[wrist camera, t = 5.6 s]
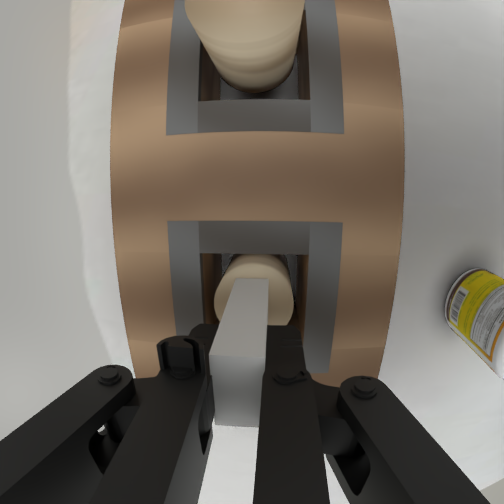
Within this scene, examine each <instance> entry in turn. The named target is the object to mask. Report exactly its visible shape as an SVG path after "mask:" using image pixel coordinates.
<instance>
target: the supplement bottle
mask: <svg viewBox="0 0 504 504" xmlns="http://www.w3.org/2000/svg"><path fill="white" fill-rule="evenodd" d="M445 317H446V321H447V323H448V325H449V326H450V328H451V329H452V330H453V331H454V332H455V333H456V334H457V335H458V336H459V337H460V338H461V339H462V340H463V341H464V342H465V343H466V344H467V345H468V346H469V347H470V348H471V349H472V350H473V351H474V352H475V353H476V354H477V355H478V356H479V357H480V358H481V359H482V360H483V361H484V362H485V363H486V364H487V365H488V366H489V367H490V368H491V369H492V370H493V371H494V372H495V373H496V374H497V375H498V376H499V377H500V378H502V379H504V279H502V278H500V277H499V276H497V275H495V274H493V273H491V272H489V271H487V270H484V269H480V268H476V269H471V270H469V271H467V272H465V273H464V274H462V275H461V276H460V277H459V278H458V279H457V280H456V281H455V283H454V284H453V285H452V287H451V289H450V291H449V293H448V296H447V299H446V303H445Z"/></svg>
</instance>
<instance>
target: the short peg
mask: <svg viewBox="0 0 504 504" xmlns="http://www.w3.org/2000/svg"><path fill="white" fill-rule="evenodd" d="M236 278H256V279H269V285H268V325H287V324H288V322H289V320H290V318H291V316H292V313H293V308H294V301H293V294H292V288H291V282H290V276H289V270H288V264H287V260H286V258H285V255H284V254H234V256H233V258H232V260H231V262H230V264H229V266H228V268H227V270H226V272H225V274H224V276H223V278H222V280H221V282H220V284H219V286H218V288H217V290H216V293H215V297H214V308H215V312H216V315H217V317H218V319H219V321H221V319H222V316H223V313H224V310H225V307H226V305H227V302H228V299H229V296H230V293H231V291H232V288H233V285H234V282H235V279H236Z"/></svg>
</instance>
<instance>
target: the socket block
mask: <svg viewBox="0 0 504 504" xmlns="http://www.w3.org/2000/svg"><path fill="white" fill-rule="evenodd" d="M295 54H297V63H298V95H299V100H298V99H236V100H220V82H221V76H220V74H219V72H218V71H217V69H216V67H215V65H214V63H213V61H212V60H211V58H210V56H209V54H208V52H207V50H206V49H205V47H204V45H203V43H202V42H201V40H200V38H199V36H198V34H197V33H196V31H195V29H194V27H193V26H192V24H191V22H190V20H189V19H188V17H187V14H186V11H185V0H125V3H124V8H123V13H122V19H121V25H120V31H119V38H118V45H117V53H116V62H115V71H114V82H113V95H112V111H111V138H110V177H111V205H112V222H113V235H114V247H115V257H116V266H117V275H118V282H119V290H120V297H121V304H122V310H123V316H124V322H125V328H126V333H127V339H128V344H129V349H130V354H131V359H132V363H133V368H134V372H135V376H136V378H149V377H155V376H157V375H158V373H159V371H160V365H159V359H158V353H157V347H156V345H157V344H158V343H159V342H160V341H161V340H163V339H165V338H168V337H172V336H182V335H186V336H188V335H189V333H190V332H191V330H192V329H193V328H194V327H196V326H197V325H199V324H200V323H201V324H220V321H219V319H218V317H217V315H216V312H215V308H214V297H215V293H216V290H217V288H218V286H219V284H220V282H221V280H222V265H221V253H223V254H293V255H298V256H297V281H296V302H295V304H294V308H293V313H292V316H291V318H290V320H289V322H288V324H287V325H294V326H295V327H296V328H297V329H298V330H299V331H300V332H301V339H302V345H303V351H304V357H305V364H306V370H307V371H309V373H310V375H311V377H312V379H313V380H315V381H316V382H319V383H321V384H324V385H328V386H334V387H340V385H341V383H342V382H343V381H344V380H346V379H347V378H350V377H353V376H362V375H363V376H370V377H373V378H376V379H378V375H379V371H380V366H381V362H382V358H383V353H384V348H385V344H386V339H387V334H388V329H389V323H390V318H391V312H392V306H393V300H394V293H395V286H396V279H397V271H398V263H399V254H400V244H401V233H402V219H403V202H404V162H405V158H404V119H403V102H402V89H401V78H400V69H399V60H398V53H397V46H396V39H395V33H394V27H393V21H392V16H391V11H390V6H389V1H388V0H305V3H304V8H303V14H302V20H301V25H300V31H299V36H298V42H297V48H296V53H295Z"/></svg>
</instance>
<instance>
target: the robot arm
mask: <svg viewBox="0 0 504 504" xmlns="http://www.w3.org/2000/svg"><path fill="white" fill-rule="evenodd" d="M268 285H269V279H256V278H236V279H235V282H234V285H233V288H232V291H231V293H230V296H229V299H228V302H227V305H226V307H225V310H224V313H223V316H222V319H221V321H220V324H201V323H200V324H199V325H197V326H196V327H194V328H193V329H192V330H191V332H190V333H189V335H188V336H186V335H182V336H172V337H168V338H165V339H163V340H161V341H160V342H159V343H158V344H157V345H156V347H157V353H158V359H159V365H160V371H159V373H158V375H157V376H155V377H149V378H134V379H133V376H132V373H131V371H130V370H129V369H128V368H126V367H124V366H120V365H107V366H103V367H100V368H98V369H96V370H94V371H93V372H91V373H90V374H89V375H87V376H86V377H85V378H84V379H82V380H81V381H79V382H78V383H77V384H75V385H74V386H73V387H72V388H70V389H69V390H67V391H66V392H65V393H63V394H62V395H61V396H60V397H58V398H57V399H55V400H54V401H53V402H51V403H50V404H49V405H48V406H46V407H45V408H44V409H42V410H41V411H40V412H38V413H37V414H36V415H34V416H33V417H32V418H30V419H29V420H28V421H26V422H25V423H24V424H22V425H21V426H20V427H18V428H17V429H16V430H14V431H13V432H12V433H10V434H9V435H8V436H7V437H5V438H4V439H2V440H1V441H0V504H197V503H198V499H199V494H200V490H201V486H202V481H203V477H204V473H205V468H206V464H207V460H208V455H209V451H210V447H211V442H212V438H213V432H212V422H213V418H215V425H226V426H241V427H259V433H258V446H257V459H256V472H255V484H254V496H253V504H330V500H329V492H328V484H327V476H326V469H325V461H324V454H326V458H327V460H328V462H329V464H330V466H331V468H332V470H333V472H334V474H335V476H336V478H337V480H338V482H339V484H340V486H341V488H342V490H343V492H344V494H345V496H346V498H347V499H348V501H349V503H350V504H490V503H489V501H488V500H487V499H486V498H485V497H484V496H483V495H482V494H481V492H480V491H479V490H478V489H477V488H476V486H475V485H474V484H473V483H472V482H471V481H470V480H469V478H468V477H467V476H466V475H465V474H464V473H463V472H462V470H461V469H460V468H459V467H458V466H457V465H456V464H455V462H454V461H453V460H452V459H451V458H450V457H449V456H448V454H447V453H446V452H445V451H444V450H443V449H442V448H441V446H440V445H439V444H438V443H437V442H436V441H435V440H434V439H433V437H432V436H431V435H430V434H429V433H428V432H427V431H426V429H425V428H424V427H423V426H422V425H421V424H420V423H419V422H418V420H417V419H416V418H415V417H414V416H413V415H412V414H411V413H410V411H409V410H408V409H407V408H406V407H405V406H404V405H403V404H402V402H401V401H400V400H399V399H398V398H397V397H396V396H395V395H394V394H393V392H392V391H391V390H390V389H389V388H388V387H387V386H386V385H385V384H384V383H383V382H382V381H380V380H379V379H376V378H373V377H370V376H363V375H362V376H353V377H350V378H347V379H346V380H344V381H343V382H342V383H341V385H340V387H334V386H328V385H324V384H321V383H319V382H316V381H315V380H313V379H312V377H311V375H310V373H309V371H307V370H306V364H305V357H304V351H303V345H302V339H301V332H300V331H299V330H298V329H297V328H296V327H295V326H294V325H268ZM103 425H104V427H105V429H104V430H103V431H101V432H98V431H97V430H98V429H100V428H101V427H102V426H103ZM323 453H324V454H323Z"/></svg>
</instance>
